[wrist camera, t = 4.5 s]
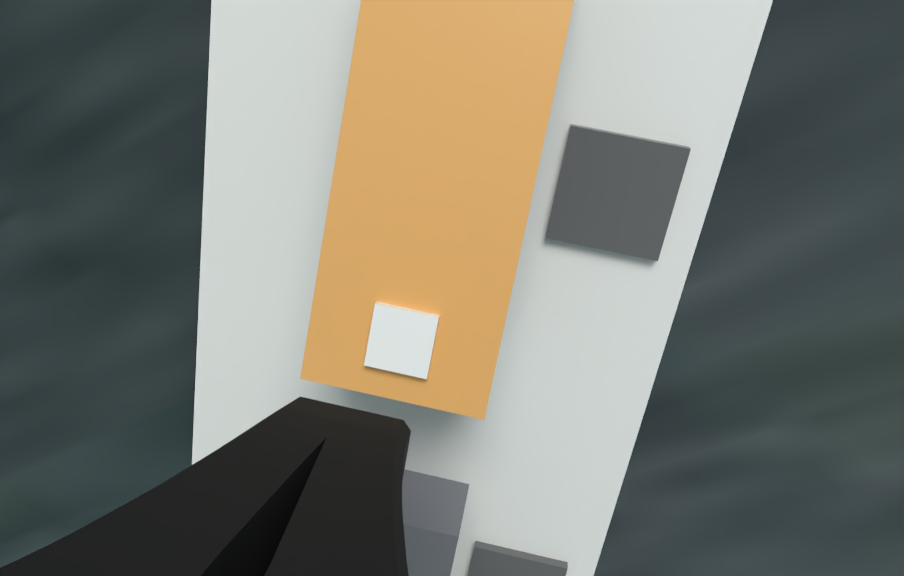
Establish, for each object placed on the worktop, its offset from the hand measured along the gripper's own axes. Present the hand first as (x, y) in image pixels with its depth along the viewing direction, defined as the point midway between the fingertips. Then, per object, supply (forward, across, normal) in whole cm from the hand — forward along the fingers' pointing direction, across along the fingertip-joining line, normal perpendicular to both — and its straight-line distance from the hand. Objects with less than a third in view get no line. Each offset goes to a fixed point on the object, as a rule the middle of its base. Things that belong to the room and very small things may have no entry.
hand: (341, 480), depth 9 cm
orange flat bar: (+4, 0, -3) cm, 5 cm away
